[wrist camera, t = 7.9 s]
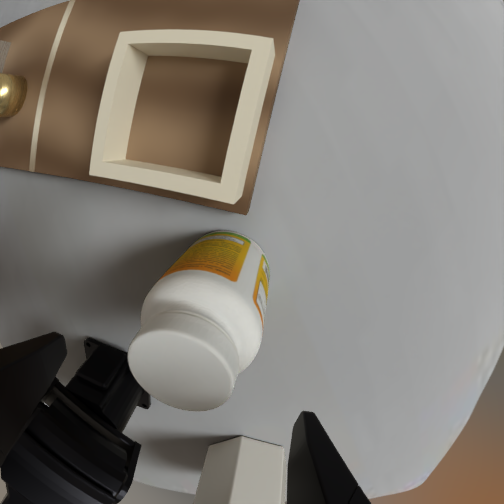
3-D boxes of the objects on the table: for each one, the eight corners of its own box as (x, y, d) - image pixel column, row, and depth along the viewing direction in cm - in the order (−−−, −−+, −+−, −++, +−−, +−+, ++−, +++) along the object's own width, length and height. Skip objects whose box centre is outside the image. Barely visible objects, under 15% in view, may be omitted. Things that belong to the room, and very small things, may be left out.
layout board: (248, 210, 17) (245, 215, 16) (-37, 158, 18) (-45, 160, 17) (299, -1, 12) (300, -11, 11) (-15, 40, 13) (-22, 39, 12)
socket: (241, 196, 15) (233, 204, 13) (112, 170, 16) (89, 174, 13) (275, 55, 13) (273, 38, 10) (140, 44, 13) (120, 32, 11)
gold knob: (22, 116, 15) (-4, 116, 12) (1, 117, 15) (-23, 118, 12) (31, 73, 14) (6, 69, 11) (9, 78, 14) (-14, 76, 11)
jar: (201, 432, 25) (170, 533, 13) (283, 434, 23) (275, 545, 12) (221, 471, 27) (202, 552, 16) (289, 472, 26) (283, 559, 15)
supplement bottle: (170, 265, 19) (88, 355, 10) (227, 210, 17) (164, 277, 8) (227, 321, 20) (188, 435, 10) (288, 275, 18) (288, 390, 9)
